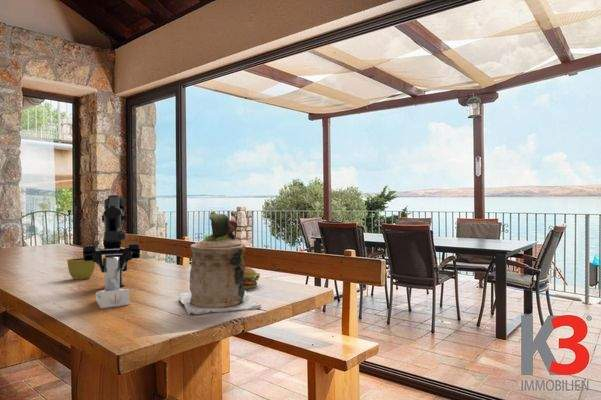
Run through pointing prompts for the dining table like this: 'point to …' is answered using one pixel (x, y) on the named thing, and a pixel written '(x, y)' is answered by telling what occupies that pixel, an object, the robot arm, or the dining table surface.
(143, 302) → the dining table surface
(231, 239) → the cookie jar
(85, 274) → the flower pot
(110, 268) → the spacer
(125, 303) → the scale
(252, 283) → the food
